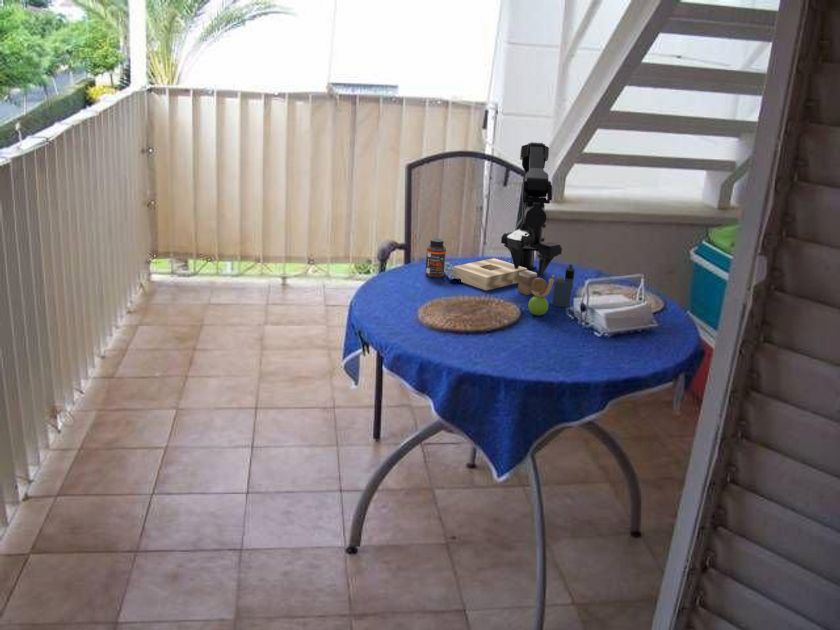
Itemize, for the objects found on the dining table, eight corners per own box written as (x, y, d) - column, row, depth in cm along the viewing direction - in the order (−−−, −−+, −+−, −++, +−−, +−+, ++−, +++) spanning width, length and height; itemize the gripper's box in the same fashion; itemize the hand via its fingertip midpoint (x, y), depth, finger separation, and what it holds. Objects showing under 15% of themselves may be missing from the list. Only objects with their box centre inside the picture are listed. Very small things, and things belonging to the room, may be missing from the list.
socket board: (493, 270, 265) (494, 258, 264) (526, 280, 256) (527, 268, 254) (452, 278, 254) (453, 266, 252) (485, 290, 244) (486, 277, 243)
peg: (525, 289, 247) (527, 270, 245) (535, 293, 244) (537, 273, 242) (517, 291, 244) (519, 272, 242) (526, 295, 242) (528, 275, 240)
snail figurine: (545, 320, 221) (550, 277, 217) (524, 315, 224) (528, 272, 220) (554, 315, 225) (558, 273, 222) (532, 310, 229) (536, 268, 225)
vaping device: (571, 307, 233) (576, 266, 229) (552, 306, 233) (557, 265, 229) (570, 304, 235) (574, 263, 231) (551, 303, 235) (555, 262, 231)
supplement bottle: (427, 278, 253) (429, 242, 250) (423, 272, 259) (424, 237, 255) (446, 277, 255) (448, 242, 251) (441, 272, 260) (443, 237, 256)
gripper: (490, 216, 239) (486, 269, 244) (539, 230, 226) (534, 284, 231) (516, 212, 246) (511, 263, 251) (565, 225, 233) (559, 278, 238)
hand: (528, 272), depth 242 cm, fingers open, 9 cm apart
